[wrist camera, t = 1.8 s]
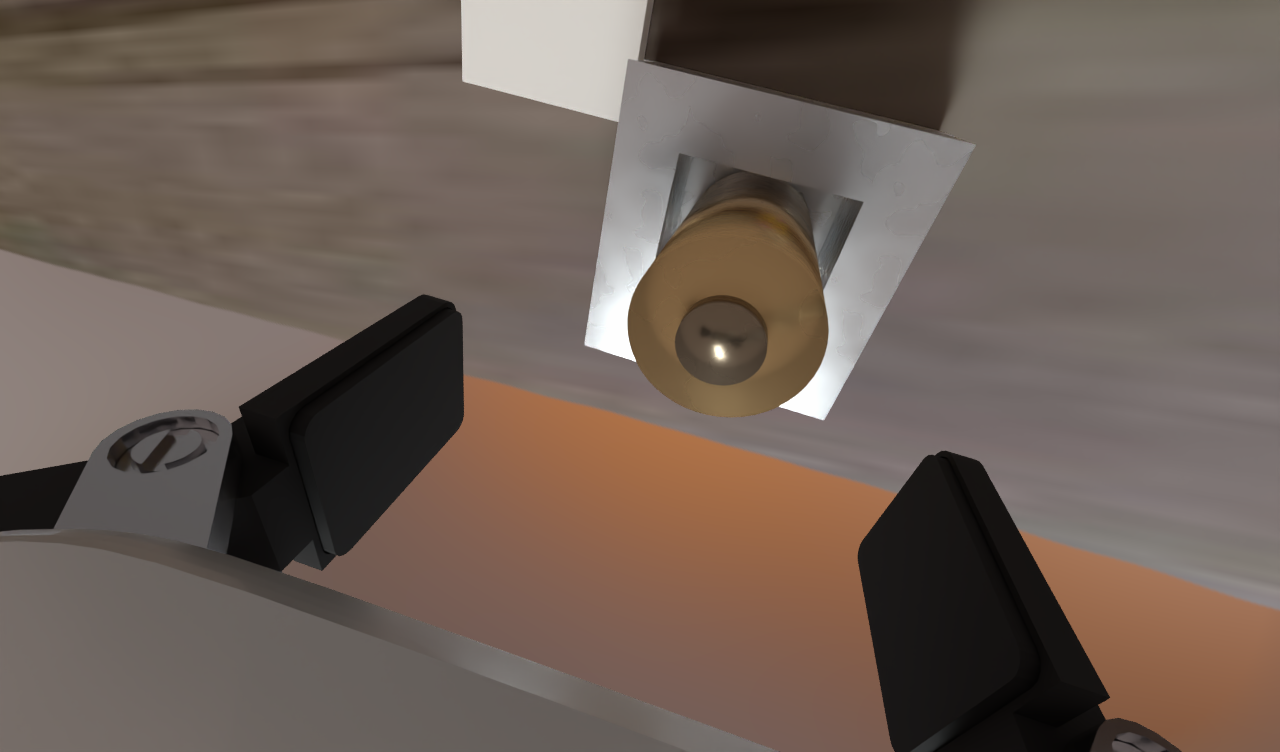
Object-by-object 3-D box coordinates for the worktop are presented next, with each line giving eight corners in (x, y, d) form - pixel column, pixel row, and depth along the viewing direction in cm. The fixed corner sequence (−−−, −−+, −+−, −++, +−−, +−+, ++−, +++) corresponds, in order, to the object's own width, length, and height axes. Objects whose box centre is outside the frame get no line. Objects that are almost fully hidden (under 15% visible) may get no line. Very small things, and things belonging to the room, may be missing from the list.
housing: (939, 130, 19) (993, 148, 14) (825, 356, 25) (835, 424, 20) (655, 60, 20) (613, 54, 15) (613, 292, 26) (574, 341, 22)
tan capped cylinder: (832, 190, 19) (870, 281, 11) (784, 307, 22) (783, 452, 14) (705, 156, 20) (642, 216, 11) (674, 275, 23) (607, 395, 14)
